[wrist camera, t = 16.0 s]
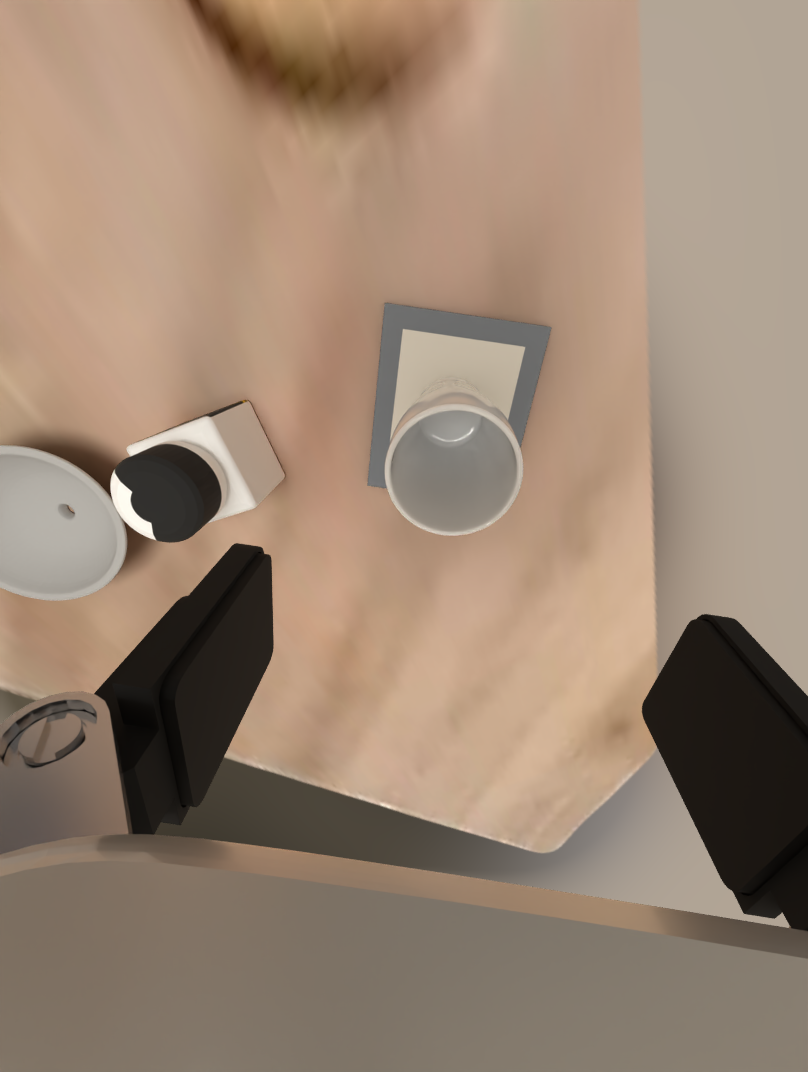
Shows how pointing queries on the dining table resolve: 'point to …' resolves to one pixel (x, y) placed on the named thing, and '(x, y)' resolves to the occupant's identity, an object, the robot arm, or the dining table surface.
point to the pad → (452, 367)
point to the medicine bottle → (196, 474)
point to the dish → (55, 527)
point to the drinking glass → (453, 460)
